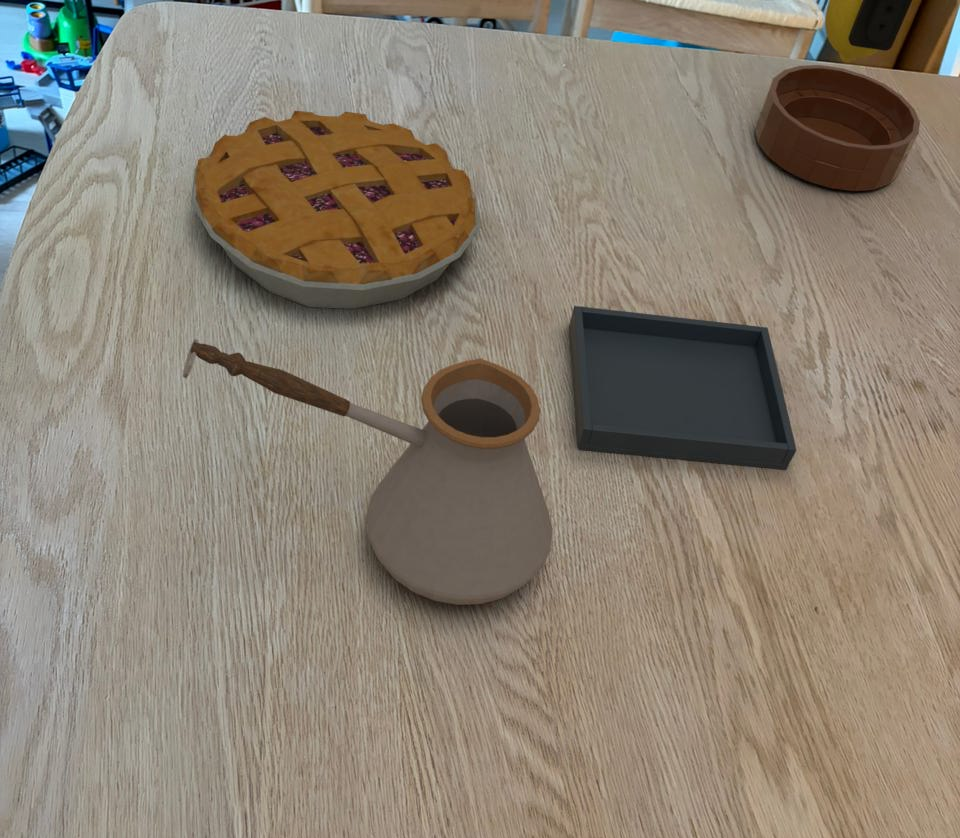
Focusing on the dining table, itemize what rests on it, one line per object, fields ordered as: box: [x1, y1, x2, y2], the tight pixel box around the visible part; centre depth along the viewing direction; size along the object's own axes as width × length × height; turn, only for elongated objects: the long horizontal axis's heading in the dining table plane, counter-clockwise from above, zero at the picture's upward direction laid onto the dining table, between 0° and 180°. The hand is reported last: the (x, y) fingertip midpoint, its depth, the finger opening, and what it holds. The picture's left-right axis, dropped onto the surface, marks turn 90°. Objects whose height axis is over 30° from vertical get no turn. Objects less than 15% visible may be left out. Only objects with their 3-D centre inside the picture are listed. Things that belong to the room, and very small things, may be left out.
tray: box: [568, 305, 797, 471], centre depth 78 cm, size 15×13×2 cm
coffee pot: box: [182, 338, 553, 606], centre depth 61 cm, size 21×12×15 cm, turn 91°
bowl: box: [754, 64, 921, 192], centre depth 100 cm, size 14×14×4 cm
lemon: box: [824, 0, 880, 64], centre depth 78 cm, size 6×6×8 cm
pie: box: [190, 110, 481, 310], centre depth 83 cm, size 22×22×5 cm
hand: (861, 22), depth 79 cm, fingers closed on lemon, 5 cm apart
